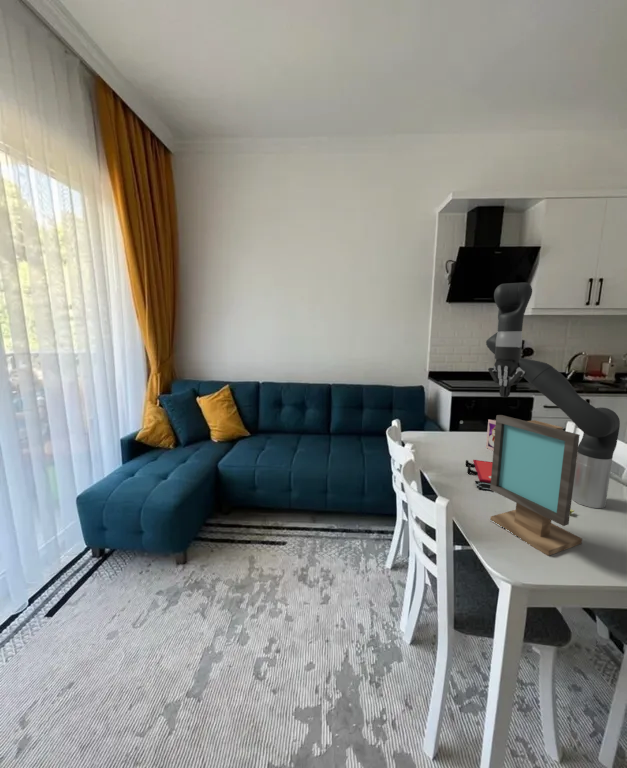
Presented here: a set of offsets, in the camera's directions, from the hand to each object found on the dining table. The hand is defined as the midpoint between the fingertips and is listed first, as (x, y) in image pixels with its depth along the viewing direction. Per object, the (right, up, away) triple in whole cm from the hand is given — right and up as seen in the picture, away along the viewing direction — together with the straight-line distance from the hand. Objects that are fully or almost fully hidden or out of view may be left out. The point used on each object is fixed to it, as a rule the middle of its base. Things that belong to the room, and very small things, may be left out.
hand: (504, 396), depth 115 cm
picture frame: (-4, -30, -18) cm, 35 cm away
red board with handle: (+7, -34, +25) cm, 43 cm away
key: (+16, -38, 0) cm, 41 cm away
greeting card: (+28, -29, +53) cm, 67 cm away
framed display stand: (0, -40, -15) cm, 42 cm away
